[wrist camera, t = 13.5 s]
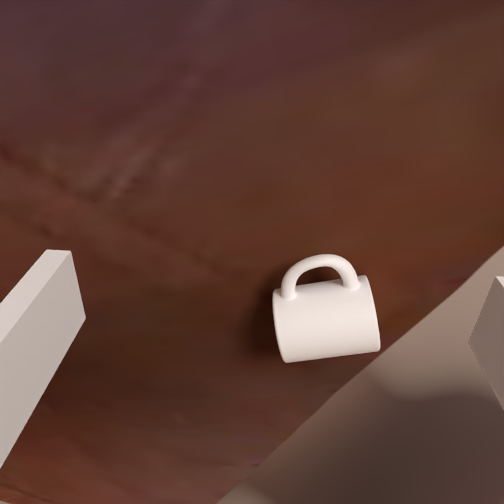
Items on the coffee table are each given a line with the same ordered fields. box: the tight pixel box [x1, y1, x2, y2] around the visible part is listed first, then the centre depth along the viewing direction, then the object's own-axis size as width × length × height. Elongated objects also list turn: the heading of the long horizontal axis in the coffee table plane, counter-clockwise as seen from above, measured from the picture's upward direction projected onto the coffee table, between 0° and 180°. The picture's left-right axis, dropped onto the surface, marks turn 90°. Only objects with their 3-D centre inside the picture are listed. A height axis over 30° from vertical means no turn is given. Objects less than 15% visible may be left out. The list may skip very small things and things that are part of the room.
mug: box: [272, 254, 380, 363], centre depth 45 cm, size 12×10×8 cm
